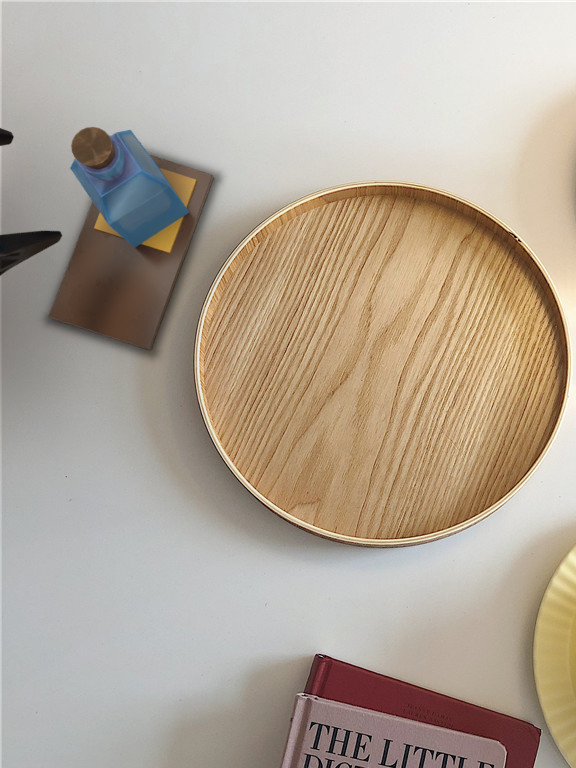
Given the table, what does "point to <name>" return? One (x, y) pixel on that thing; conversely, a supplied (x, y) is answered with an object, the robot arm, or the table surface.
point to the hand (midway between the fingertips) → (35, 187)
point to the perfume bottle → (125, 184)
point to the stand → (129, 268)
